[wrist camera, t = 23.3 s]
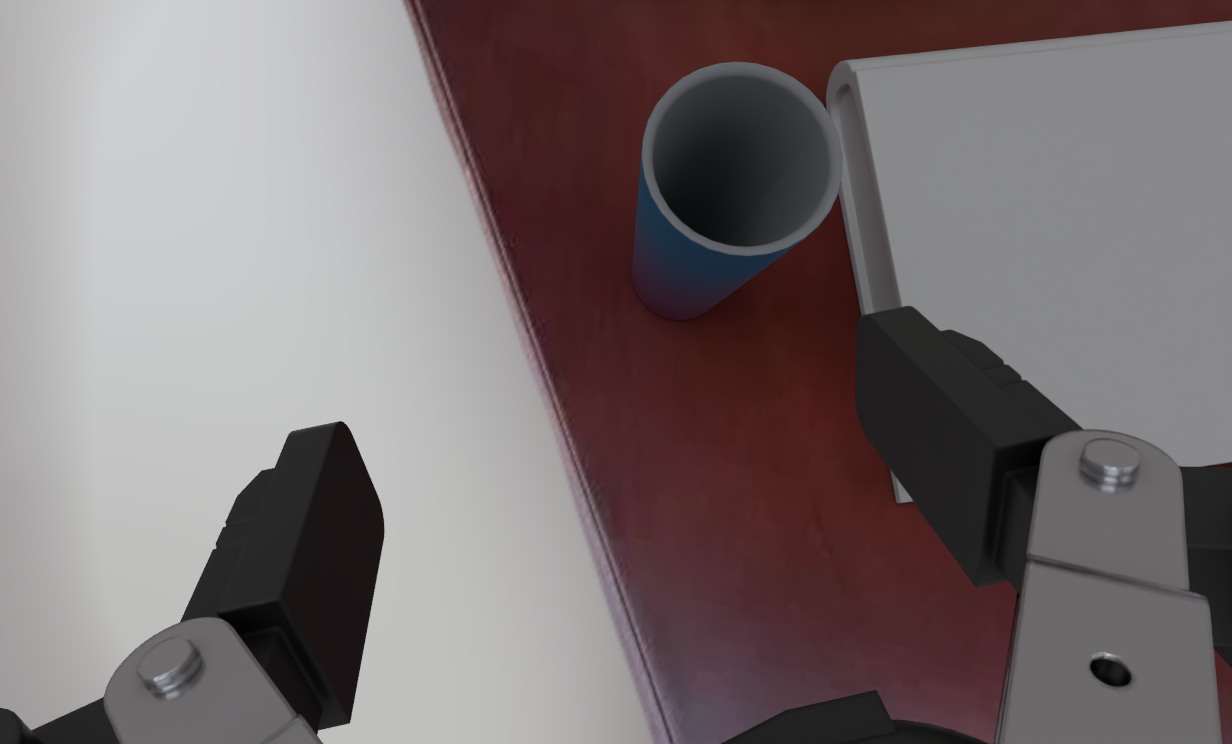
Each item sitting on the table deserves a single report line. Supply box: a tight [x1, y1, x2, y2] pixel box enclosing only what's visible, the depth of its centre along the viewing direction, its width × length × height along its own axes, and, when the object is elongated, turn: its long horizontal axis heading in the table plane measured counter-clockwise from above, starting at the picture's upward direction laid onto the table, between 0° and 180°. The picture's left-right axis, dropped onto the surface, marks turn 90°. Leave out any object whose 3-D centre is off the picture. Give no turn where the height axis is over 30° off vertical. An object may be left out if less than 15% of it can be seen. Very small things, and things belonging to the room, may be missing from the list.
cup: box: [631, 62, 843, 320], centre depth 26 cm, size 6×5×12 cm
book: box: [826, 21, 1232, 503], centre depth 31 cm, size 18×4×24 cm
